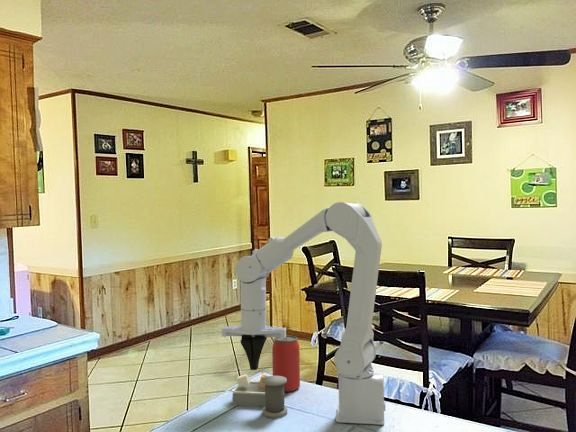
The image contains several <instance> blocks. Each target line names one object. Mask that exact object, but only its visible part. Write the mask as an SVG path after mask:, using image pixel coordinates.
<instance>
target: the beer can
mask: <svg viewBox="0 0 576 432" xmlns="http://www.w3.org/2000/svg"><path fill="white" fill-rule="evenodd" d="M273 339H274V341H273V344H272V348H271V349H272V351H271V352H272V358H271V359H272V376H283V377H285V378H287V383H285V384H284V393H286V392H287V393H290V392H293V391H296V390H299V388H300V386H301V370H300V369H301V368H300V367H301V365H300V359H301V358H300V353H301V352H300V343H299V341H298V337H297V336H294V335H288V334H286V337H285V338H280V337H273Z"/></svg>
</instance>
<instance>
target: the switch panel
mask: <svg viewBox="0 0 576 432" xmlns="http://www.w3.org/2000/svg"><path fill="white" fill-rule="evenodd" d="M259 383H260V380H250V383H249V385H245V386H242V387H239V385H238V386H237V387H236V388H235V390H234V391H233V392H232V406H243V407H248V406H249V407H262V408H264V407H265V387H263V386H260V385H259Z"/></svg>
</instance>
